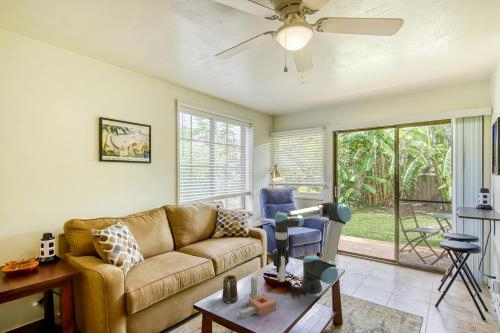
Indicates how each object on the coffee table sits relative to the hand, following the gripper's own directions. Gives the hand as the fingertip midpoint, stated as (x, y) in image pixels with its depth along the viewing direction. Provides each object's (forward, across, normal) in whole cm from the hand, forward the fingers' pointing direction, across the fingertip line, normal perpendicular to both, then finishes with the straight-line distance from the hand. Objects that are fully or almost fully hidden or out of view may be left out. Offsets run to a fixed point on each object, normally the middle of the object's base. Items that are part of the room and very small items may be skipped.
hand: (281, 276), depth 159 cm
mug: (+21, +20, -27) cm, 40 cm away
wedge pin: (+3, 0, 0) cm, 3 cm away
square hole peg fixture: (+21, +13, -11) cm, 27 cm away
